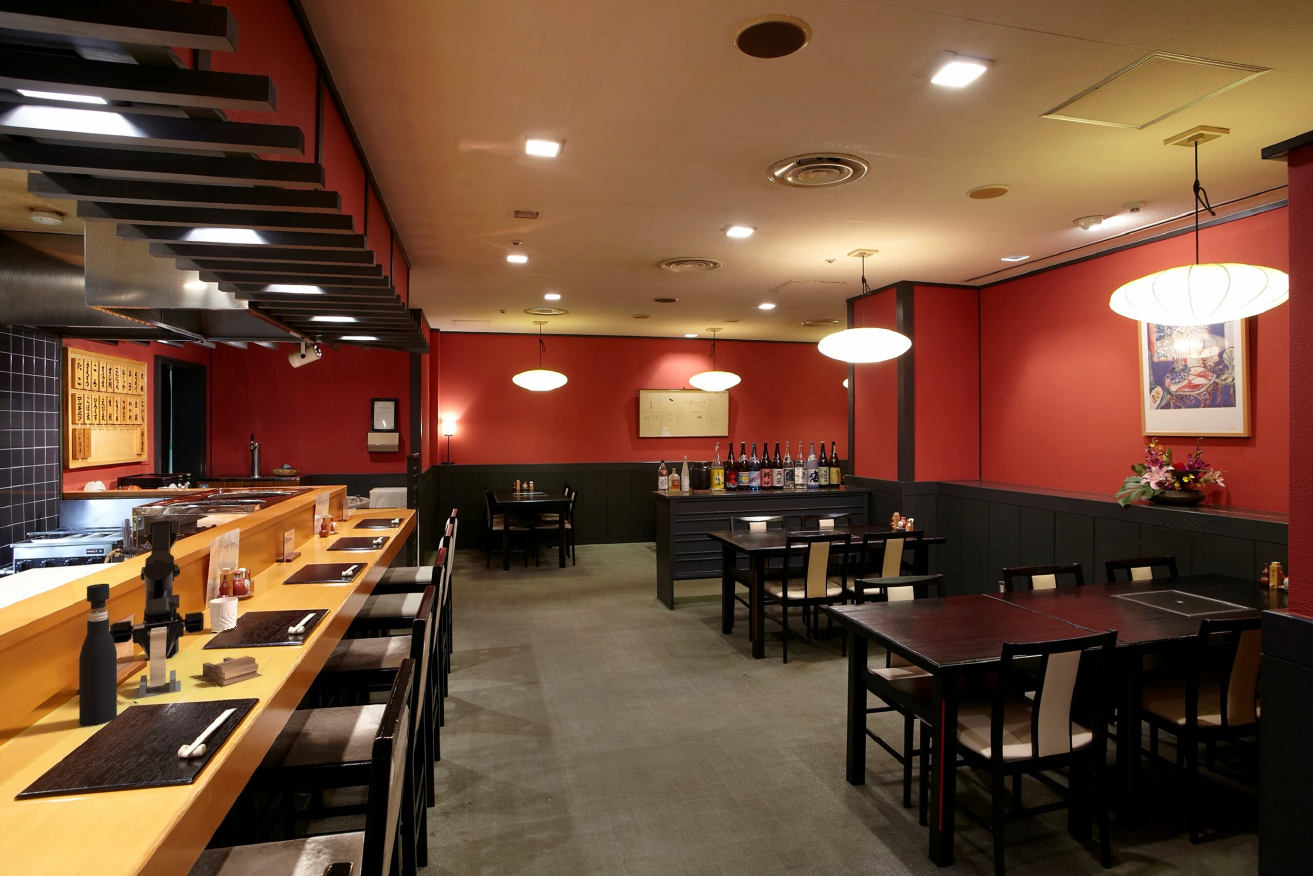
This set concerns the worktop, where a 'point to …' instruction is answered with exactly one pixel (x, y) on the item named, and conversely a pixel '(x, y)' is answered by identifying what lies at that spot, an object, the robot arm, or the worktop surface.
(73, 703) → the worktop surface
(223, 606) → the white cup
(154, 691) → the grey holder
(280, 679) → the worktop surface
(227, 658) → the walnut rack
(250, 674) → the offcut stack
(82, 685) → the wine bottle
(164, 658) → the birch board
